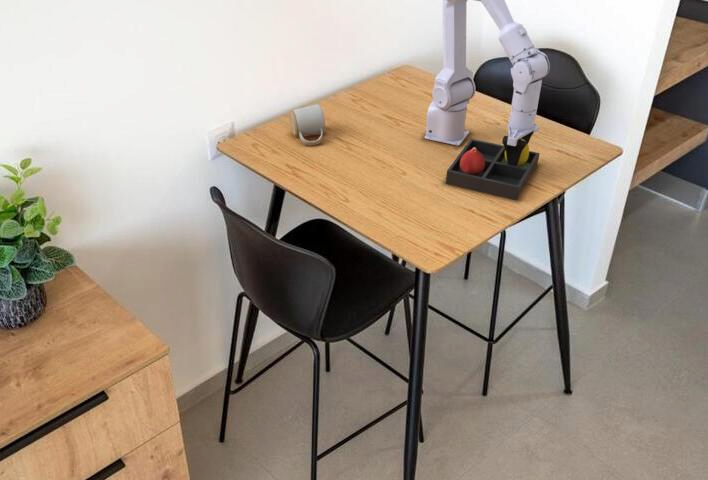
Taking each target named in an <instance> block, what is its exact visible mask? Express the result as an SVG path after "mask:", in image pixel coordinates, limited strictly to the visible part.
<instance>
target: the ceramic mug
mask: <svg viewBox="0 0 708 480" xmlns="http://www.w3.org/2000/svg"><path fill="white" fill-rule="evenodd" d="M325 119H326V118H325V115H324V110H323V108H322V106H321V104H320V103H315V104H312V105H307V106H304V107H299V108H295V109H293V110H291V111H290V112H289V124H290V128H291V132H292V134H293V136H294V137H296V138H299V139H300V140H301V142H302V143H303V144H305V145H306V146H316V145H318V144H320V143H321V142H322V140H323V135H324V134H325V132H326V120H325ZM318 135H320V136H319V137H318V139H316V140H307V139H306V138H305V137H309V136H310V137H311V136H318Z"/></svg>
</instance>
